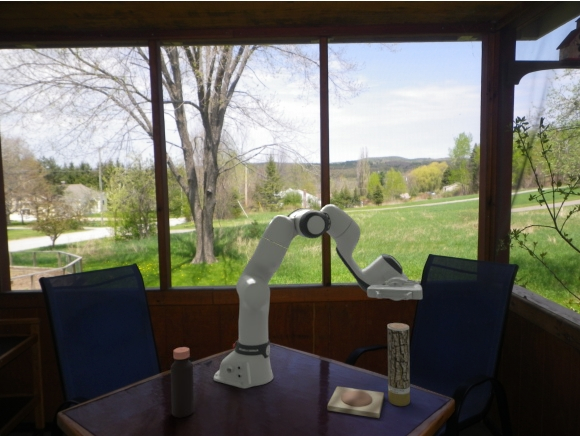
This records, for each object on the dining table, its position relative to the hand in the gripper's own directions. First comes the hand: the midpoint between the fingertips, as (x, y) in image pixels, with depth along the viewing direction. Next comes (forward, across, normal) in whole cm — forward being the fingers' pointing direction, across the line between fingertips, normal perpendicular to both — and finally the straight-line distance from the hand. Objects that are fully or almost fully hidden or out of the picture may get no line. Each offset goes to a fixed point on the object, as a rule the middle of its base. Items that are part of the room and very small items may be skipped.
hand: (392, 297), depth 144 cm
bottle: (+43, -61, +29) cm, 80 cm away
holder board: (+20, -10, +30) cm, 38 cm away
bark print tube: (+15, +3, +31) cm, 35 cm away
